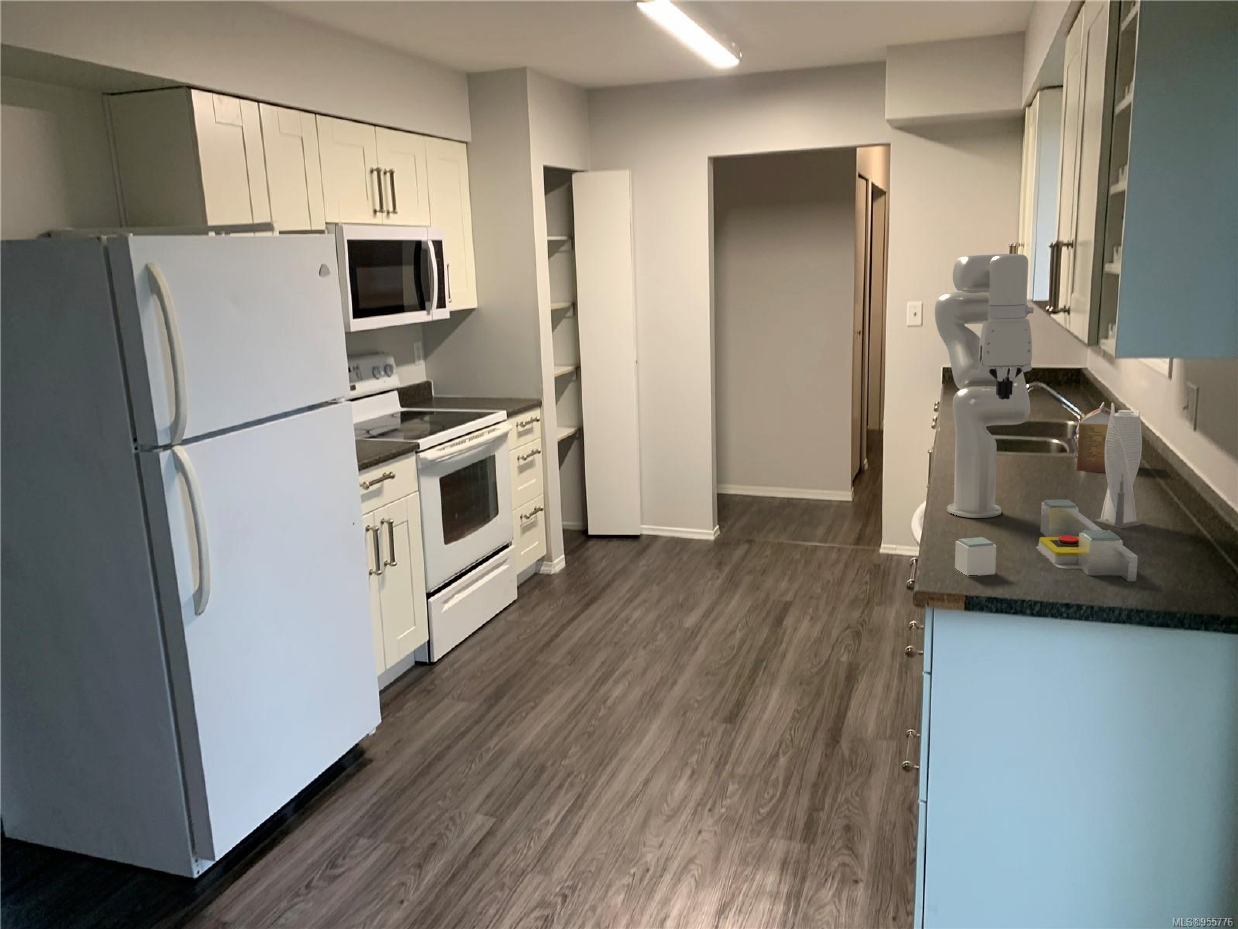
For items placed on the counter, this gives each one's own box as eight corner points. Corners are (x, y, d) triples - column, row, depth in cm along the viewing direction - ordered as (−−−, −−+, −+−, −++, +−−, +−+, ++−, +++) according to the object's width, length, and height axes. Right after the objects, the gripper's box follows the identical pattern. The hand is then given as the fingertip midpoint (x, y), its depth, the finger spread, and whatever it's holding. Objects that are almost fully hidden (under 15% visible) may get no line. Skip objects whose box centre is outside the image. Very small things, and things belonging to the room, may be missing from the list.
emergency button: (1080, 529, 196) (1108, 549, 181) (1079, 548, 196) (1107, 570, 182) (1035, 529, 197) (1059, 550, 182) (1034, 549, 198) (1058, 571, 183)
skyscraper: (1089, 520, 215) (1096, 403, 209) (1115, 515, 218) (1122, 400, 212) (1119, 528, 207) (1127, 407, 202) (1146, 524, 210) (1154, 404, 204)
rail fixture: (1035, 527, 212) (1037, 495, 210) (1069, 527, 210) (1071, 495, 209) (1094, 581, 175) (1096, 543, 173) (1136, 581, 174) (1138, 543, 172)
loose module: (954, 569, 186) (955, 538, 185) (982, 566, 187) (983, 536, 185) (966, 576, 181) (967, 545, 180) (995, 574, 182) (996, 543, 180)
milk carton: (1117, 473, 260) (1121, 407, 256) (1076, 470, 265) (1080, 406, 262) (1120, 465, 269) (1124, 402, 265) (1080, 463, 274) (1083, 401, 270)
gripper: (1038, 311, 196) (1034, 395, 200) (966, 314, 198) (964, 397, 202) (1049, 312, 189) (1045, 400, 192) (974, 315, 191) (971, 402, 195)
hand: (1003, 398), depth 197 cm, fingers closed
